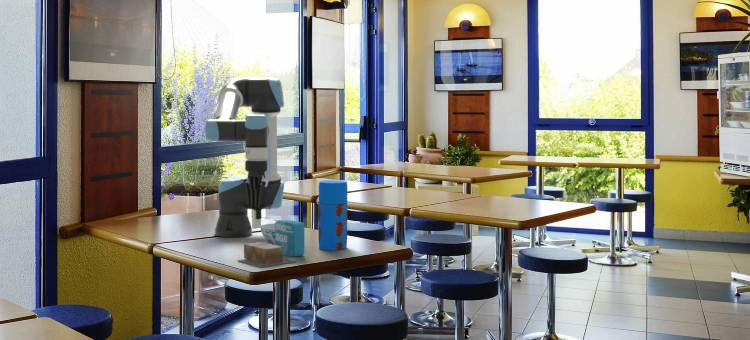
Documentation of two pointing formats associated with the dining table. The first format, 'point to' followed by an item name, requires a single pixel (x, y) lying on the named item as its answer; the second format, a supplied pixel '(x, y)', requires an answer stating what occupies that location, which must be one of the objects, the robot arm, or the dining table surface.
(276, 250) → the block
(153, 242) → the dining table surface
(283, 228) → the data package
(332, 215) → the thermos
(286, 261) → the mat
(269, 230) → the chinaware
